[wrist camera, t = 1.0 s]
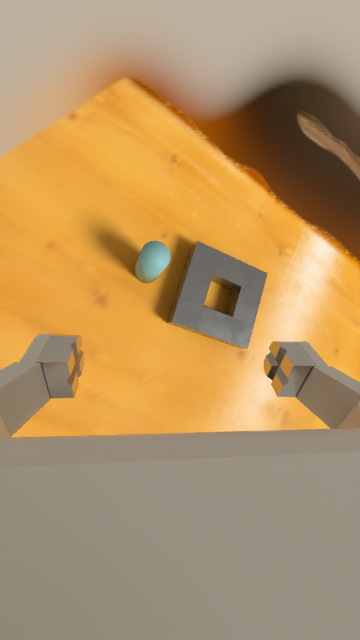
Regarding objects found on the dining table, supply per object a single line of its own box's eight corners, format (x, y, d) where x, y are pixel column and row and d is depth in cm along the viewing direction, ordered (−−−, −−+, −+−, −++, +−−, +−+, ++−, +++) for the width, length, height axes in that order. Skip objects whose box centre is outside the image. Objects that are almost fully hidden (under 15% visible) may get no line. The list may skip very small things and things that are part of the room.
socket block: (167, 322, 40) (171, 321, 38) (191, 247, 43) (197, 241, 40) (238, 347, 44) (247, 348, 41) (257, 277, 46) (267, 273, 43)
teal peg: (130, 277, 39) (136, 263, 32) (138, 255, 40) (146, 236, 32) (153, 286, 40) (165, 274, 33) (161, 264, 41) (174, 248, 33)
